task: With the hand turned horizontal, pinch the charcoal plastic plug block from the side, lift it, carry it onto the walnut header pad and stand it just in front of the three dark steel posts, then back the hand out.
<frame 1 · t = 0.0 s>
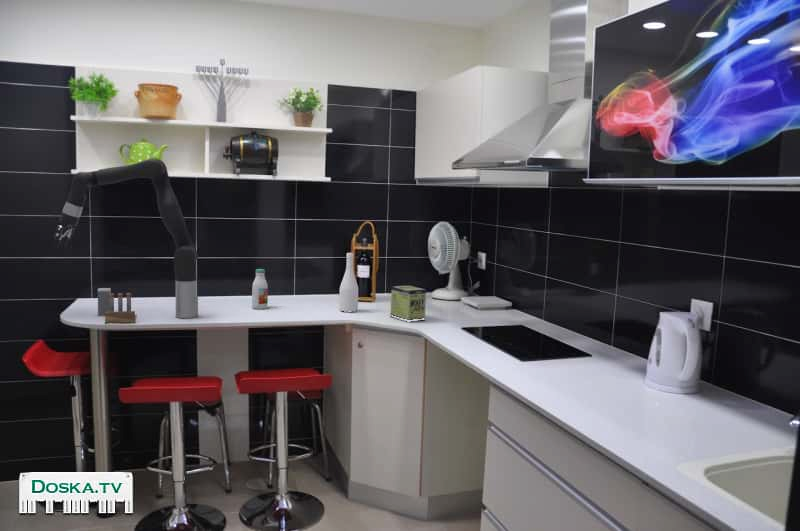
hand: (58, 246, 299), 31 cm above the table, tool tilted 20°, fingers open, 8 cm apart
milk bottle: (259, 308, 335), on the table
plug block: (104, 314, 305), on the table
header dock: (121, 319, 296), on the table
protein box: (407, 319, 323), on the table
wine bottle: (348, 311, 336), on the table
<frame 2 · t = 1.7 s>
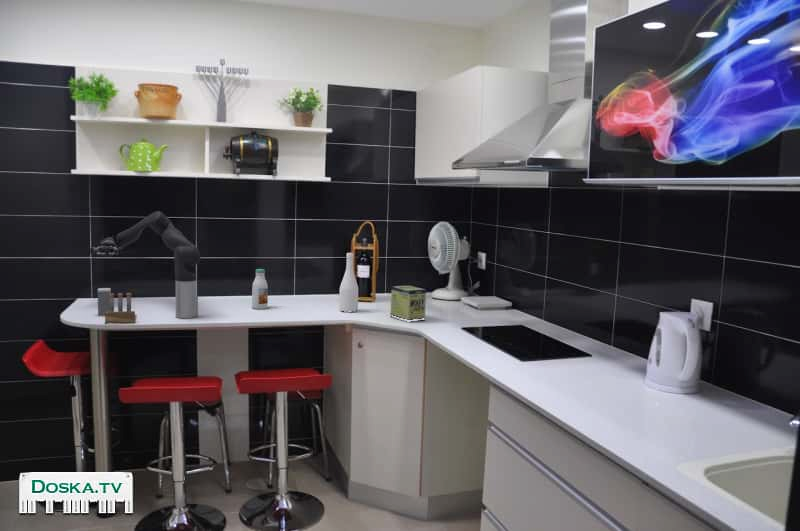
hand: (105, 252, 312), 28 cm above the table, tool horizontal, fingers open, 8 cm apart
nothing on the table moved.
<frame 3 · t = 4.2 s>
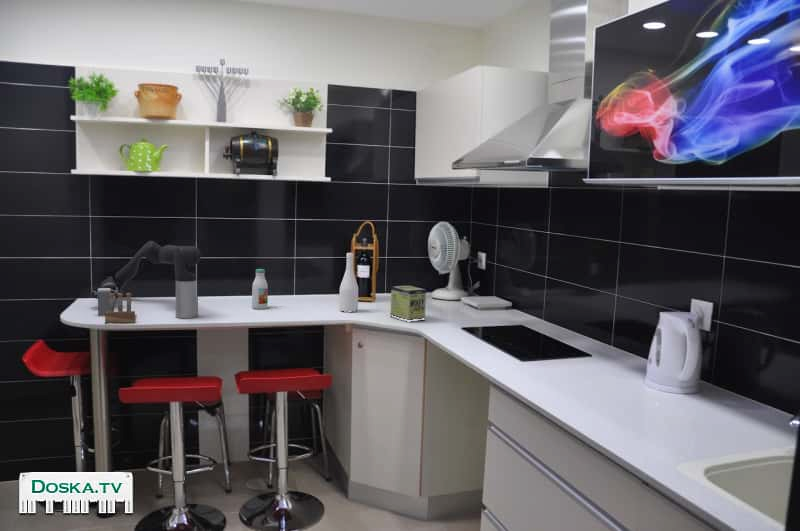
hand: (106, 296, 313), 7 cm above the table, tool horizontal, fingers open, 8 cm apart
nothing on the table moved.
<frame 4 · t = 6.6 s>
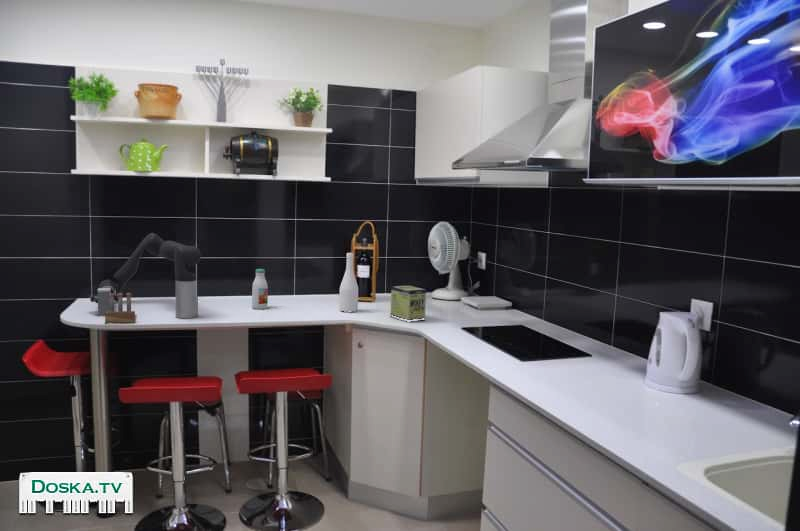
hand: (103, 300, 302), 7 cm above the table, tool horizontal, fingers closed on plug block, 5 cm apart
plug block: (104, 314, 305), on the table, touching gripper
everything else where it was.
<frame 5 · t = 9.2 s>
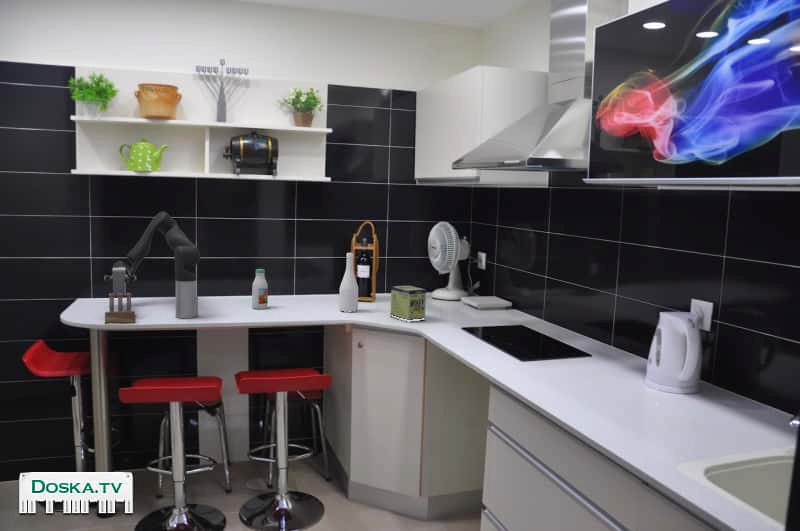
hand: (118, 280, 293), 18 cm above the table, tool horizontal, fingers closed on plug block, 5 cm apart
plug block: (119, 295, 296), point 11 cm above the table, touching gripper
everything else where it was.
when the fingers open (8 cm above the table, at t = 11.6 s): plug block stays where it is, resting on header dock.
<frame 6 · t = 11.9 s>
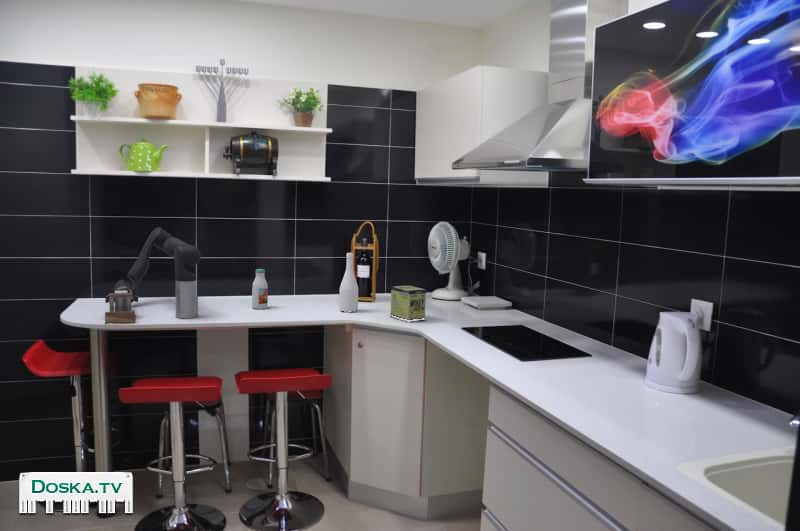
hand: (120, 301, 293), 9 cm above the table, tool horizontal, fingers open, 7 cm apart
plug block: (121, 318, 296), point 1 cm above the table, touching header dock
everything else where it was.
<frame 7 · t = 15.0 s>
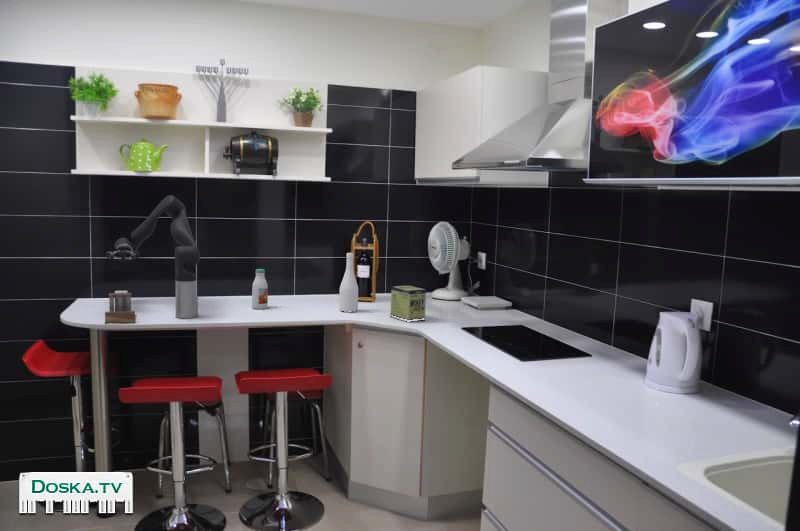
hand: (122, 257, 302), 27 cm above the table, tool horizontal, fingers open, 8 cm apart
nothing on the table moved.
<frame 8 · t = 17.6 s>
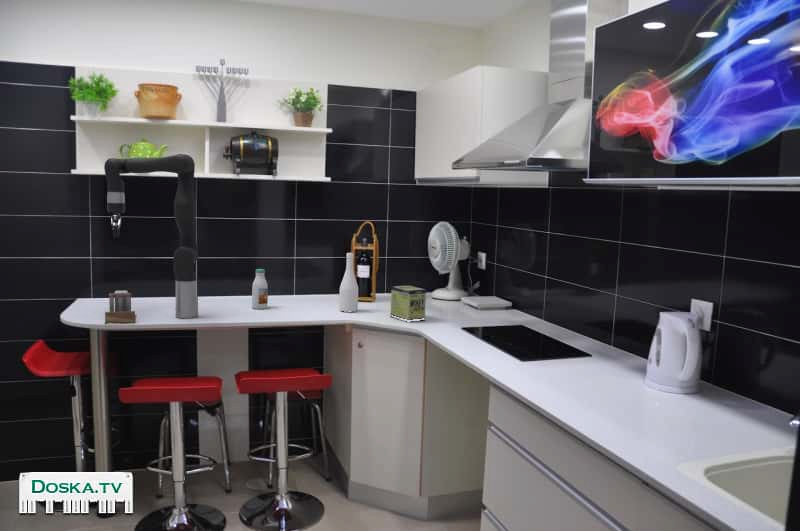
hand: (116, 236, 305), 36 cm above the table, tool pointing down, fingers open, 8 cm apart
nothing on the table moved.
at the end: plug block inside the target area on the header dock (0.0 cm from its centre), point 0.6 cm above the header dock's base; plug block tilted 0°; the gripper is holding nothing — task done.
